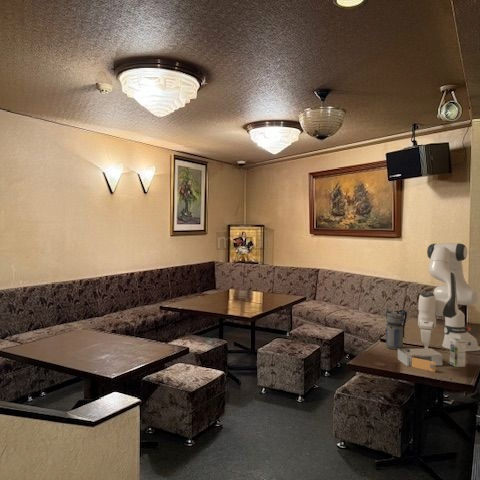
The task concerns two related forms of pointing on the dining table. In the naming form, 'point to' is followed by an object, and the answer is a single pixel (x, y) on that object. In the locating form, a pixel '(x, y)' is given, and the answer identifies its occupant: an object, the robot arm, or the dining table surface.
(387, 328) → the beverage bottle
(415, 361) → the side door
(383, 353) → the dining table surface
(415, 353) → the grey box
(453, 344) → the syrup box
